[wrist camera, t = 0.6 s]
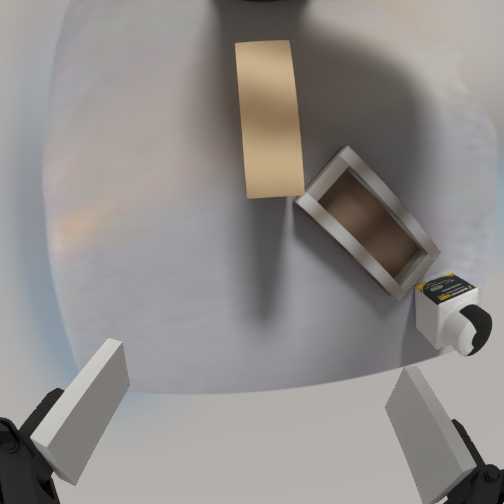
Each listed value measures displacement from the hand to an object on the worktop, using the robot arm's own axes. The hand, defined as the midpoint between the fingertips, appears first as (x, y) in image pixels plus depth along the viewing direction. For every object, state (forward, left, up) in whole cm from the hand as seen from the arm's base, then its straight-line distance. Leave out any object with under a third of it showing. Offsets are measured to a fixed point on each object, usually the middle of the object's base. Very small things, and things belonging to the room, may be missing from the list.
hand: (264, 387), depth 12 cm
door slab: (-13, -3, -24) cm, 28 cm away
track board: (-7, +12, -24) cm, 28 cm away
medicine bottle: (0, +27, -24) cm, 36 cm away
